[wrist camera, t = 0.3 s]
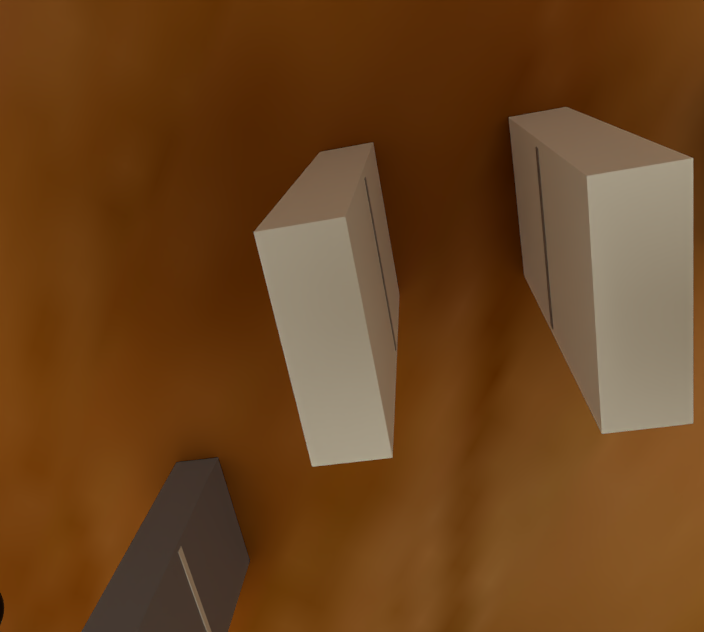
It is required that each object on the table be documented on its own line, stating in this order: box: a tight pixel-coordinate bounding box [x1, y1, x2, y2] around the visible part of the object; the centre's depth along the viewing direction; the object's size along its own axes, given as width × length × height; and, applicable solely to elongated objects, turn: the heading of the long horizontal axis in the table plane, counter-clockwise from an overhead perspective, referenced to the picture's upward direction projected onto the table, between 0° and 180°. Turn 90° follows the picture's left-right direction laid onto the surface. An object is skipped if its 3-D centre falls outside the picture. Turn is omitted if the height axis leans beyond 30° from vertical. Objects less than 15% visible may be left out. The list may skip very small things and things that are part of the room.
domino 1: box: [254, 142, 399, 467], centre depth 16 cm, size 2×5×9 cm, turn 11°
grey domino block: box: [82, 457, 250, 632], centre depth 21 cm, size 2×5×9 cm, turn 11°
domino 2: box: [508, 107, 693, 434], centre depth 15 cm, size 2×5×9 cm, turn 11°
